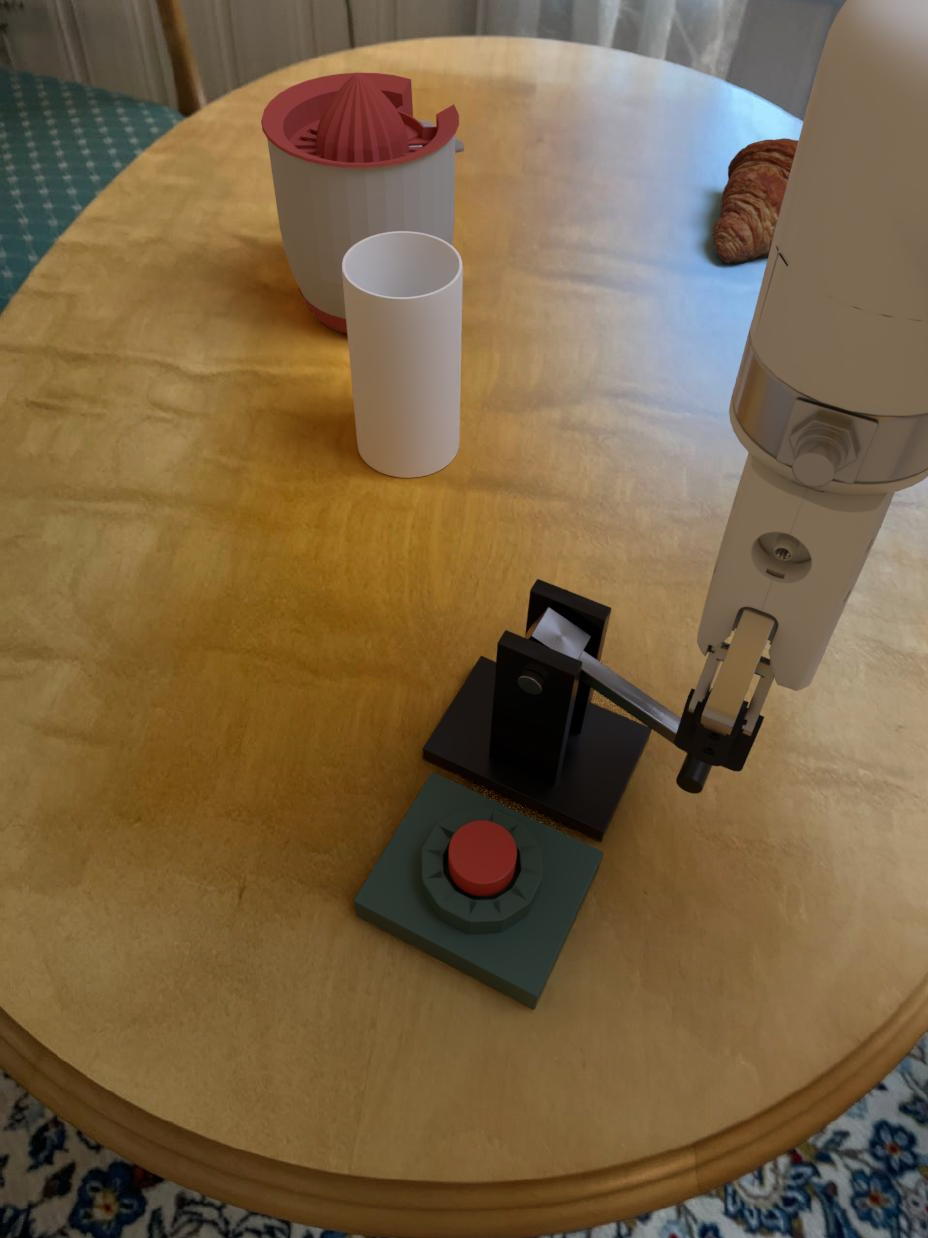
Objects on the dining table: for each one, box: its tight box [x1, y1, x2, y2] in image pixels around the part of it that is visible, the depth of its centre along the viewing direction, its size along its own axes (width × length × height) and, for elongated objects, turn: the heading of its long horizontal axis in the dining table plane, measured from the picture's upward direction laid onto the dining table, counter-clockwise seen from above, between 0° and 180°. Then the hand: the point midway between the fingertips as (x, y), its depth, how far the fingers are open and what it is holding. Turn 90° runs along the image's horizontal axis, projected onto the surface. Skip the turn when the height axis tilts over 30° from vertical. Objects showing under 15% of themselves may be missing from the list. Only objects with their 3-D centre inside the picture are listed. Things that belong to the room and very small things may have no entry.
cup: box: [342, 231, 464, 479], centre depth 72 cm, size 8×8×16 cm
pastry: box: [712, 137, 799, 265], centre depth 97 cm, size 17×15×8 cm
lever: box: [523, 607, 713, 795], centre depth 53 cm, size 12×5×2 cm, turn 63°
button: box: [448, 820, 517, 897], centre depth 52 cm, size 4×4×2 cm
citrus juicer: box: [260, 72, 465, 334], centre depth 83 cm, size 16×17×20 cm
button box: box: [353, 771, 604, 1010], centre depth 54 cm, size 11×9×4 cm
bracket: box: [422, 578, 652, 843], centre depth 56 cm, size 12×8×13 cm, turn 63°
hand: (740, 677), depth 47 cm, fingers open, 9 cm apart
